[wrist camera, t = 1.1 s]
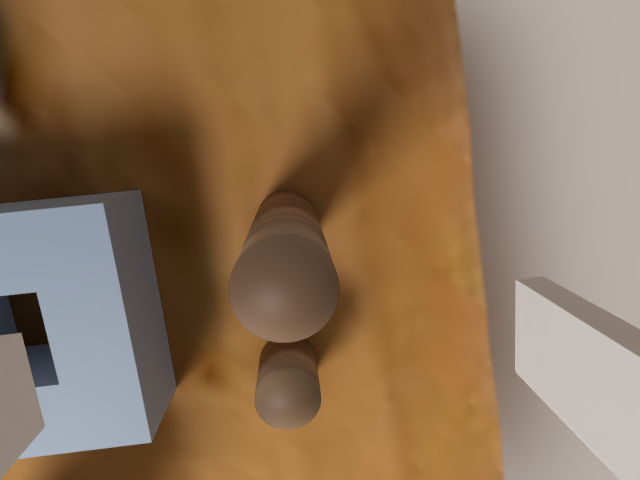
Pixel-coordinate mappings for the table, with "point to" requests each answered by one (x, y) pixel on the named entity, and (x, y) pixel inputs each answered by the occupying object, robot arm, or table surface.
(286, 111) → the table surface
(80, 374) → the socket block
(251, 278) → the long dowel
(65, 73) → the table surface
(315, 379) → the short dowel
